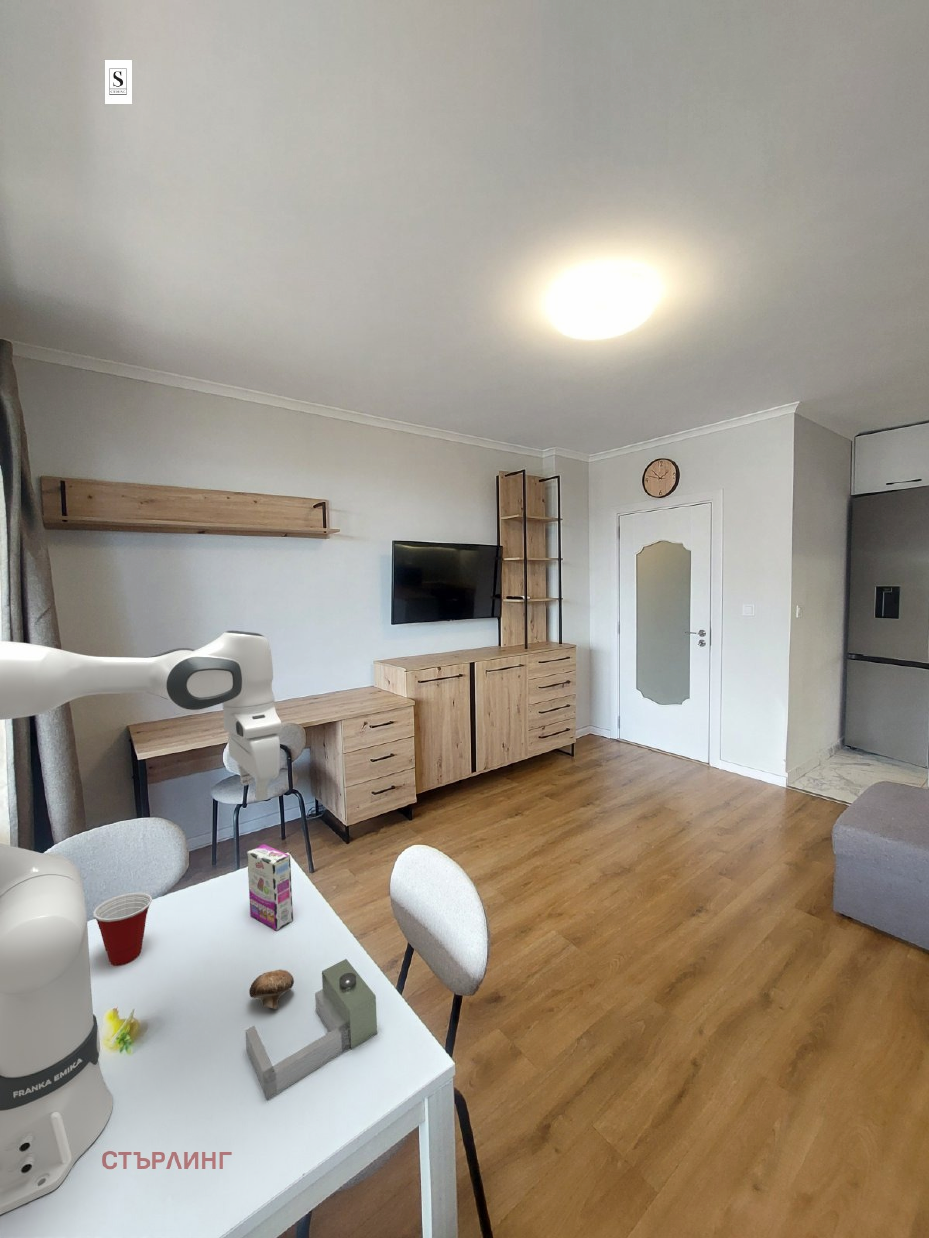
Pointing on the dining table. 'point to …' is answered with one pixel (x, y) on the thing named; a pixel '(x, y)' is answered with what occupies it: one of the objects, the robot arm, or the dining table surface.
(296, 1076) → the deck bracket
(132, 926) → the plastic cup
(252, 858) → the candy bar box
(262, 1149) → the dining table surface
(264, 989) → the mushroom
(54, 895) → the robot arm
